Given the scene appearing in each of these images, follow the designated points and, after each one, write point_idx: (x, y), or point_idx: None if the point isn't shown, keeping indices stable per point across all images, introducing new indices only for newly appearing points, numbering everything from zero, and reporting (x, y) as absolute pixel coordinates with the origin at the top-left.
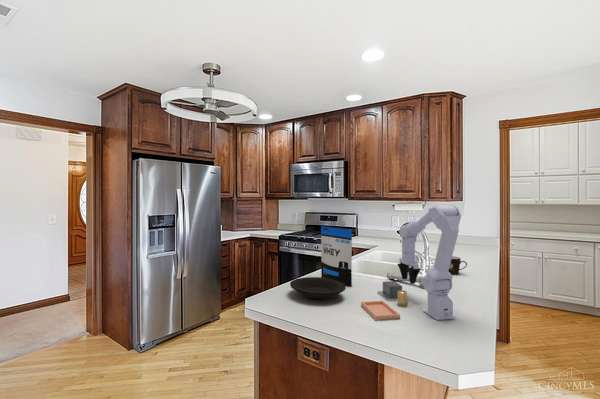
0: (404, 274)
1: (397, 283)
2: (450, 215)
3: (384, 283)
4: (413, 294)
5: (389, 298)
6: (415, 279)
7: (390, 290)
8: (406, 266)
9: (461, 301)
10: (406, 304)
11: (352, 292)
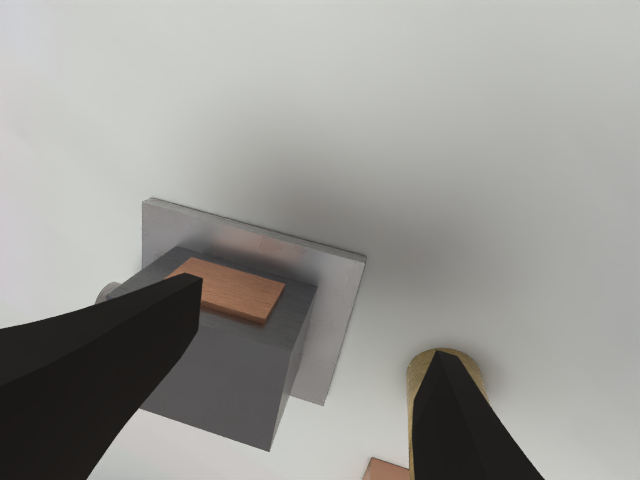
0: (155, 354)
1: None
2: None
3: (153, 406)
4: (252, 93)
5: (311, 385)
6: (481, 410)
7: (281, 414)
8: (1, 463)
9: None
10: (483, 383)
11: (117, 443)
